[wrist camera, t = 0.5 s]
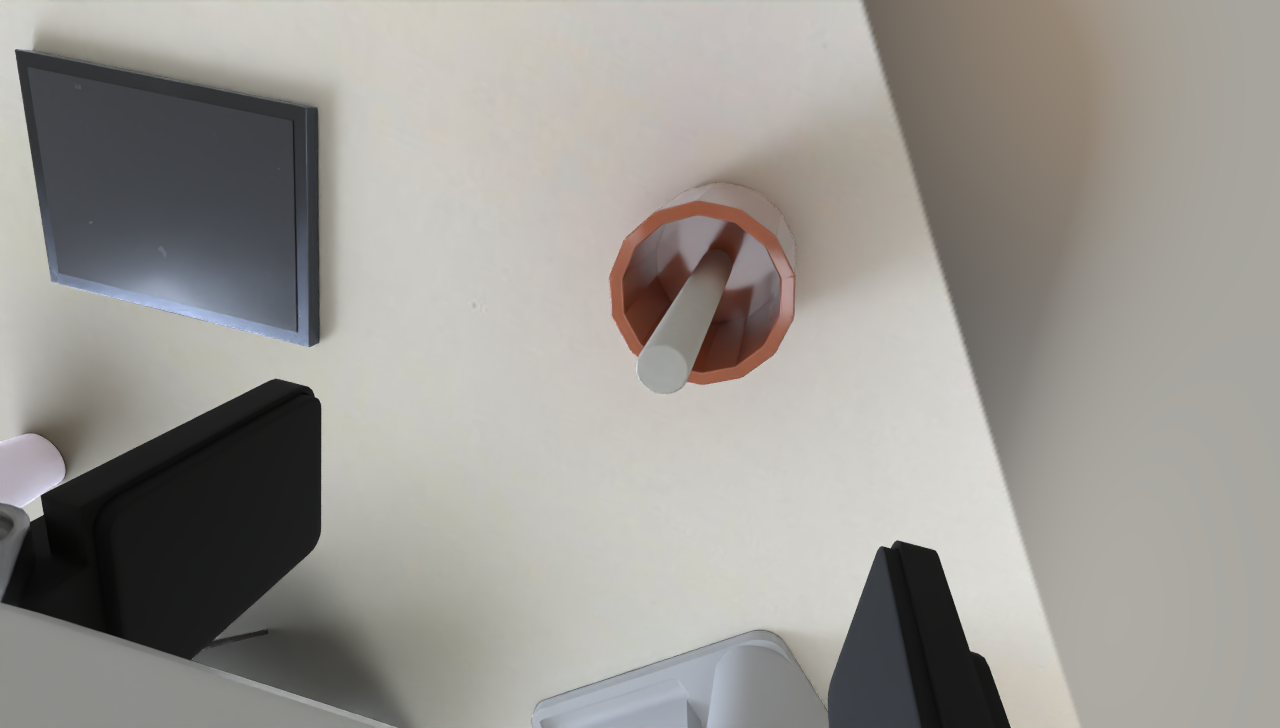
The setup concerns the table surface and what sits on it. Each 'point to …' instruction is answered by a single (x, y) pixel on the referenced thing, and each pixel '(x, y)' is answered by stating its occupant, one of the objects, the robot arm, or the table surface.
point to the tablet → (176, 194)
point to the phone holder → (698, 692)
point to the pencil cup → (754, 289)
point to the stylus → (684, 326)
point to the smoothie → (28, 468)
